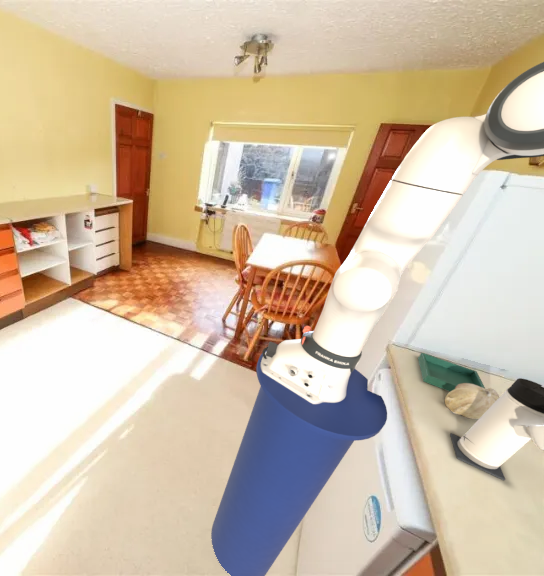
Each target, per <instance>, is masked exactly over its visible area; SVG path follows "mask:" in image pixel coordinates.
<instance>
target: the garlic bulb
mask: <svg viewBox="0 0 544 576" xmlns="http://www.w3.org/2000/svg"><path fill="white" fill-rule="evenodd" d="M499 397H500V395H499V394H498V392H497V390H496V389H495V388H491V387H490V388H486V387H485V388H482V387H480V386H477V385H475V384H470V383H462V384H458V385H457V386H456V387H455V389H454V390H452V391H448V392H447V394H446V395H445V398H444V405H445V407H446V408H447V409H449V410H450V411H451V412H452V414H455V415H459V416H461V417H464V418H468V419H475V420H478V419H479V418H480V417H481V416H482V415H483V414H484V413H485V412H486V411H487V410H488V409H489V408H490V407H491V406H492V405H493V404H494V403H495V402H496V401H497V399H498V398H499Z"/></svg>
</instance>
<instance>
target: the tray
mask: <svg viewBox="0 0 544 576" xmlns="http://www.w3.org/2000/svg"><path fill="white" fill-rule="evenodd" d="M417 361H418V365H419V369H420V374H421V378H422V381H423V382H424V383H427V384H429V385H432V386H434V387H437V388H440V389H442V390H444V391H447V392H450V391H452V390H454V389H455V387H456V386H457V385H458V384H462V383H470V384H475V385H477V386H480V387H482V388H485V389H486V387H485V385H484V383H483V381H482V379H481V377H480V375H479V373H478V371H477V370H474V369H471V368H468V367H466V366H462V365H460V364H457V363H454V362H451V361H448V360H444V359H442V358H439V357H437V356H434V355H430V354H427V353H425V352H421V353H420V354H419V356H418V357H417Z"/></svg>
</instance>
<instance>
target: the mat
mask: <svg viewBox="0 0 544 576" xmlns="http://www.w3.org/2000/svg"><path fill="white" fill-rule="evenodd" d="M449 436H450V438H451V439H450V440H451V444H452V446H453V450H454V454H455V457H456V459H457V460H459V461H461V462H463V463H465V464H467V465H470V466H472V467H473V468H476V469H478V470H479V471H482V472H485V473H487V474H489V475H490V476H493V477H495V478H497V479H500V480H502V481H506V478H505V475H504V473H503V470H502V468H501V466H500V467H498V468H497V469H488V468H485V467H483V466H481V465H479V464H477V463H475V462H473V461H472V460H470V459H469V458H468V457H467V456H465V455H464V454H463V453H462V451H461V450H460V449H459V447H458V444H457V442H458V441H459V440H460V438H462V436H459V435H458V434H457V435H456V434H454V433H453V432H451V433H449Z"/></svg>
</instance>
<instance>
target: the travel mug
mask: <svg viewBox="0 0 544 576" xmlns="http://www.w3.org/2000/svg"><path fill="white" fill-rule="evenodd" d="M533 424H543V425H544V386H543V385H542V384H540V383H537V382H535V381H532V380H530V379H527V378H522V377H521V378H520V377H519V378H517V379H516V380H515V381H514V382H513V383H512V384H511V386H509V387H508V388H506V390H505V391H504V392H503V393H502V394H501V395H499V398H498V399H497V401H496V402H495V403H494V404H493V405H492V406H491V407H490V408H489V409H488V410H487V411H486V412H485V413H484V414H483V415H482V416H481V417H480V418H479V419H477V420H476V422H474V423H473V424H472V426H471V427H470V428H469V429H468V430H467V431H466V432H465V433H464V434H463V435H462V436H461V438H460V440H459V441H458V442H457V444H458V447H459V449H460V450H461V451H462V453H463V454H464V455H465V456H467V457H468V458H469V459H470V460H472V461H473V462H475V463H477V464H479V465H481V466H483V467H485V468H488V469H497V468H498V467H500V468H501V466H502V465H503V464H504V463H505V462H507V461H508V460H509V459H510V458H512V457H513V456H514V455H515V453H517V452H518V451H519V450H520V449H521V448H523V447H524V446H525V445H526V444H528V442H530V441H531V440H532V439H531V438H528V437H522V436H518V435H517V434H516V433H515V430H514V427H513V426H514V425H526V426H529V425H533Z"/></svg>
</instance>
